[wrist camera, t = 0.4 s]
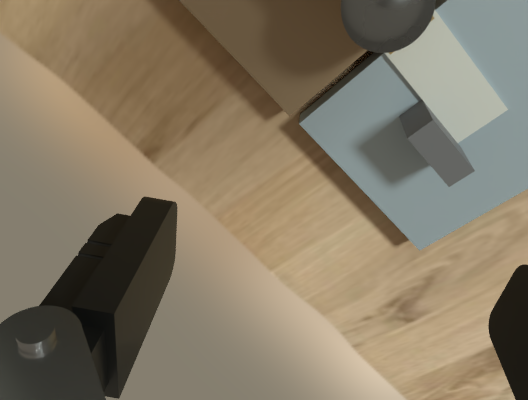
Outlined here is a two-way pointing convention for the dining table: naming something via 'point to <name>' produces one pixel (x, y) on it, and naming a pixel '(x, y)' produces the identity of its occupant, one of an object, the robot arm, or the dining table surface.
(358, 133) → the door mock-up
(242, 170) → the dining table surface
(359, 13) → the swing bar
